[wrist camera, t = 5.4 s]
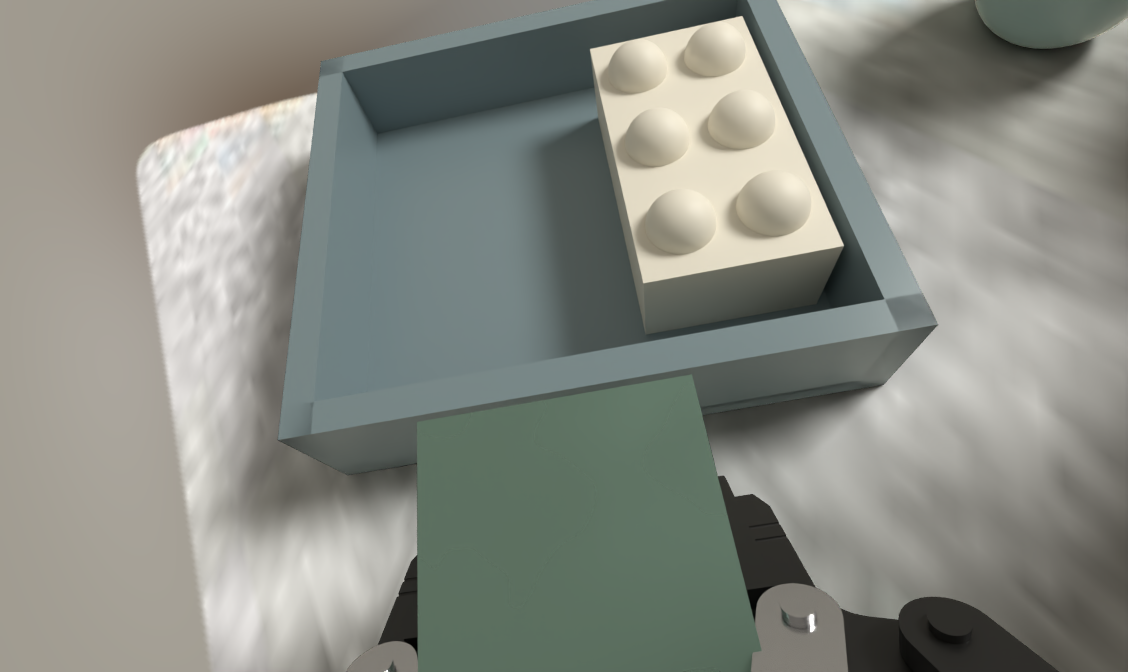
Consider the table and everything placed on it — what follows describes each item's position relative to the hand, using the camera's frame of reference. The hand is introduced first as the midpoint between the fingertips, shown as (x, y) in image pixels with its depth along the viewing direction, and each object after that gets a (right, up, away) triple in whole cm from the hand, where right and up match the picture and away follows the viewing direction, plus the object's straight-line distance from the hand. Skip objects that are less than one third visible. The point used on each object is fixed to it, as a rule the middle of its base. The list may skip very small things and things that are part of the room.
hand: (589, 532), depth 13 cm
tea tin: (+1, -5, +7) cm, 9 cm away
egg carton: (+6, +10, +14) cm, 19 cm away
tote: (0, +9, +15) cm, 18 cm away
